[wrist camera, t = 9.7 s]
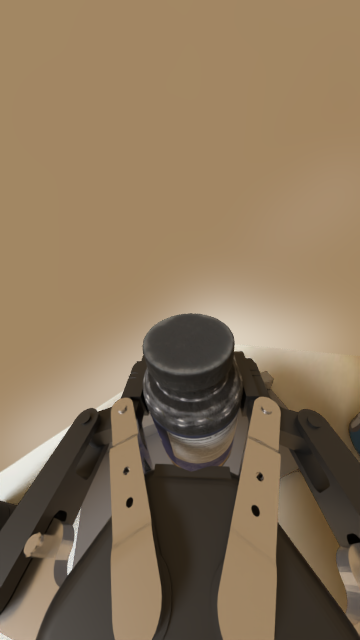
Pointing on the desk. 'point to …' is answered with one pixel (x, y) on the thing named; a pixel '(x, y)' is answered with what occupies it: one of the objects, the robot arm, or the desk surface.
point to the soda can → (355, 432)
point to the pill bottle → (193, 389)
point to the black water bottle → (5, 512)
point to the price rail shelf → (99, 493)
